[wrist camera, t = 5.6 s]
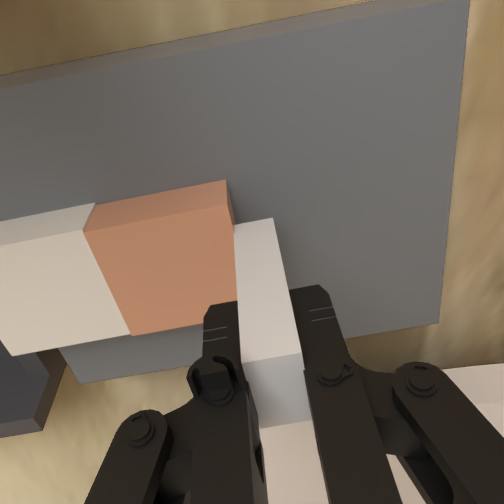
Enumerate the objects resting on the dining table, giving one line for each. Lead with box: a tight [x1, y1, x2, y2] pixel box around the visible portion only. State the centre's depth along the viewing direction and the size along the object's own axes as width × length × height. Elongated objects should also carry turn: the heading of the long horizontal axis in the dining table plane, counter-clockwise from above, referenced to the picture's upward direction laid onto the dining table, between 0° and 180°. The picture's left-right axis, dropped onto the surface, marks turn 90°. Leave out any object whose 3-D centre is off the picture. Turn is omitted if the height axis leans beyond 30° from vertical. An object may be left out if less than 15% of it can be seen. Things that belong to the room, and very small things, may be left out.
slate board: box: [0, 0, 470, 384], centre depth 19 cm, size 14×18×3 cm
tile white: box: [0, 203, 131, 356], centre depth 17 cm, size 5×5×2 cm
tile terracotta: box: [83, 179, 237, 336], centre depth 17 cm, size 5×5×2 cm
